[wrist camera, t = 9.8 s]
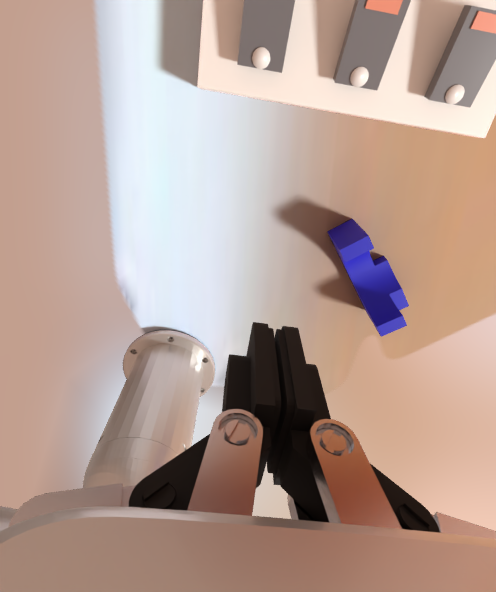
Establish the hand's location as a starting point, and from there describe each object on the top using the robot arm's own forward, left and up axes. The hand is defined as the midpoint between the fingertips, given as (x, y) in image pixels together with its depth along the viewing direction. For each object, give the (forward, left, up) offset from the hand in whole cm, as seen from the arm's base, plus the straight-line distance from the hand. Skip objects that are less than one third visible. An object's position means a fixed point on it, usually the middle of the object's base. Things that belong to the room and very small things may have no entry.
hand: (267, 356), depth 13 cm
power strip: (+14, -9, -27) cm, 32 cm away
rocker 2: (+14, -6, -22) cm, 27 cm away
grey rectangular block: (+14, +2, -22) cm, 26 cm away
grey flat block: (+14, -14, -22) cm, 30 cm away
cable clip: (-6, -14, -28) cm, 32 cm away
